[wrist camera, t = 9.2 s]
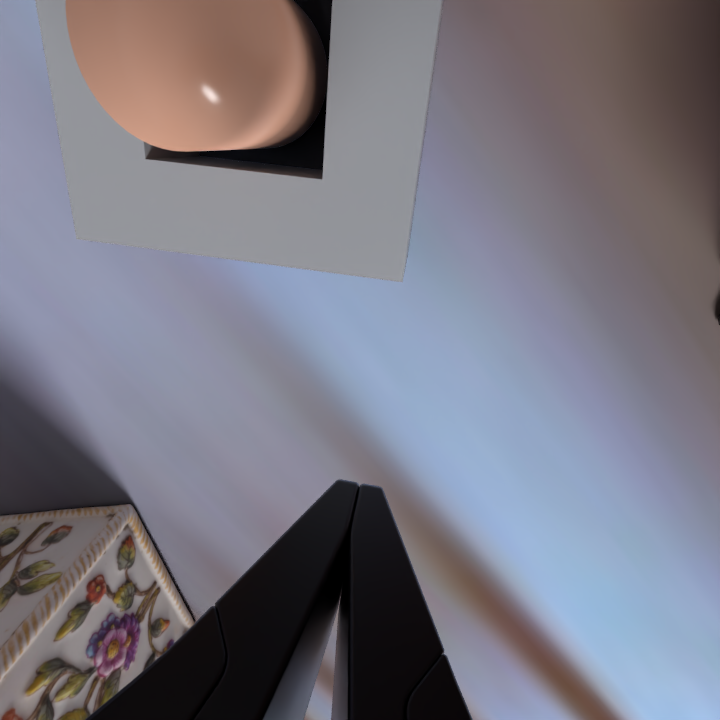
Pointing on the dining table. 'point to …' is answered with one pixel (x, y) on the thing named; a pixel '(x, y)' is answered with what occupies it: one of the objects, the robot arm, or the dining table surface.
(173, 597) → the decorative jar
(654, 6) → the dining table surface
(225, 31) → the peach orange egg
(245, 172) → the grey holder tray
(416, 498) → the dining table surface
